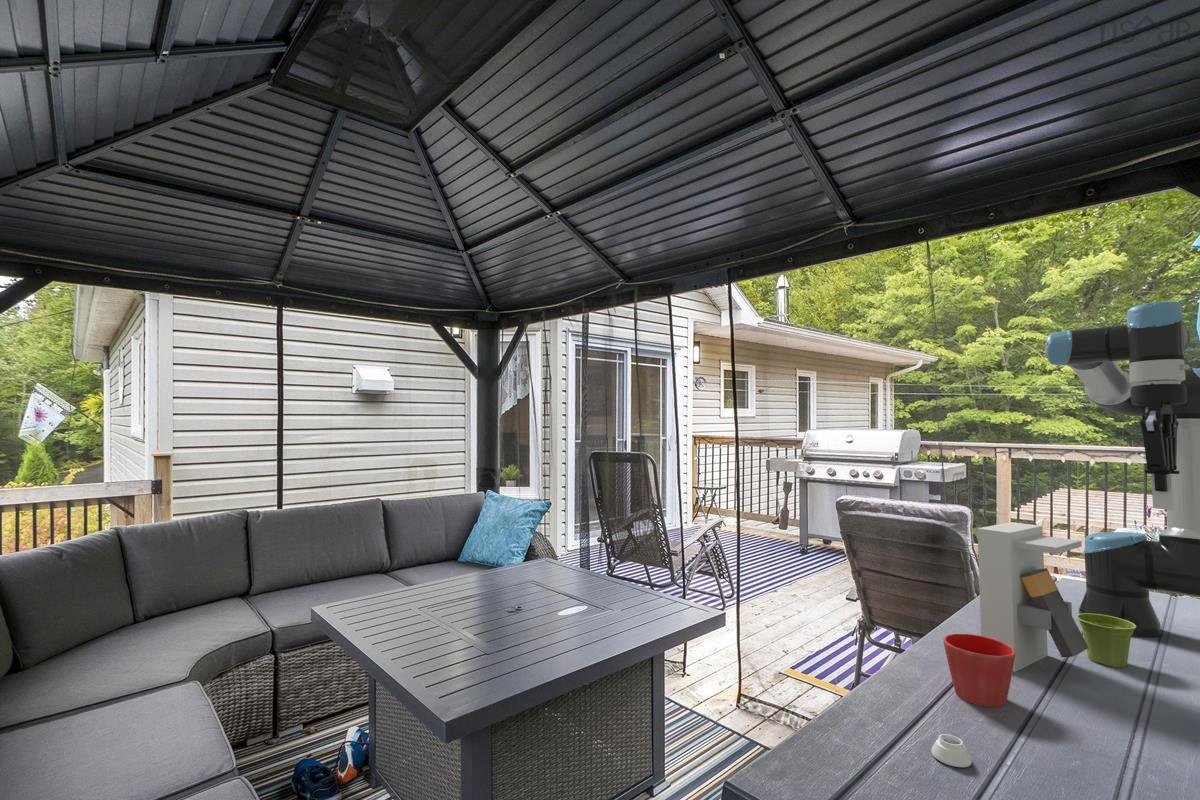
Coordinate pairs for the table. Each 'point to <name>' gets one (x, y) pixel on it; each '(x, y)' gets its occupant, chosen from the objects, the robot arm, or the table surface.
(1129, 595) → the robot arm
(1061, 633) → the breaker switch
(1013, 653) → the flower pot
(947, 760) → the white jar
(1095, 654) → the plant pot
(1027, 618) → the box
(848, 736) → the table surface
